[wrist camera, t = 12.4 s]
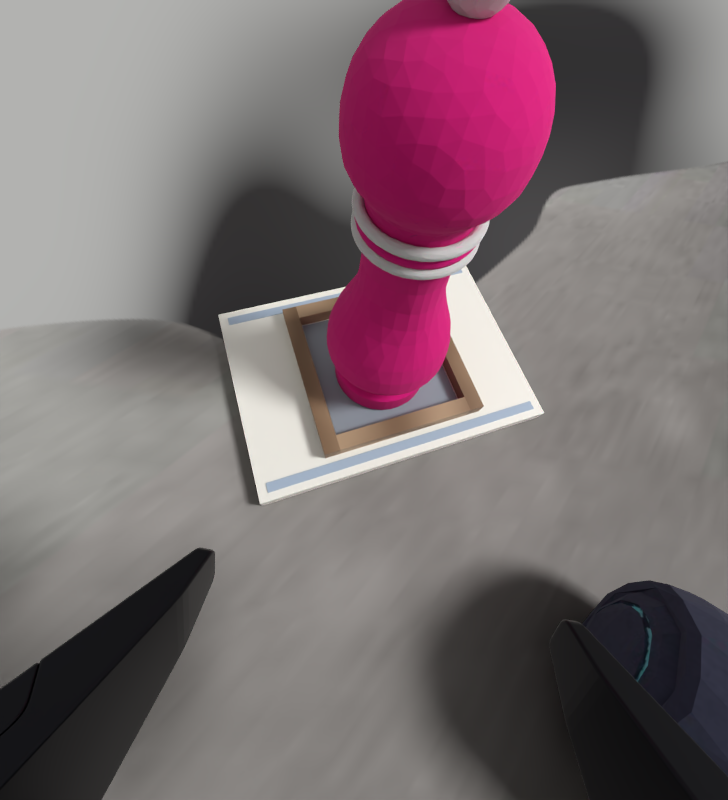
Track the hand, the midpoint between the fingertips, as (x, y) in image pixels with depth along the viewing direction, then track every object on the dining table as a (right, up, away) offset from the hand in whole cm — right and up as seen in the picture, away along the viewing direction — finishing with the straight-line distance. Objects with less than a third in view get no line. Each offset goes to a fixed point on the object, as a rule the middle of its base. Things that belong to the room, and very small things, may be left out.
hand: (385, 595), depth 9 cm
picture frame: (0, +7, +17) cm, 19 cm away
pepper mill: (+1, +7, +16) cm, 18 cm away
